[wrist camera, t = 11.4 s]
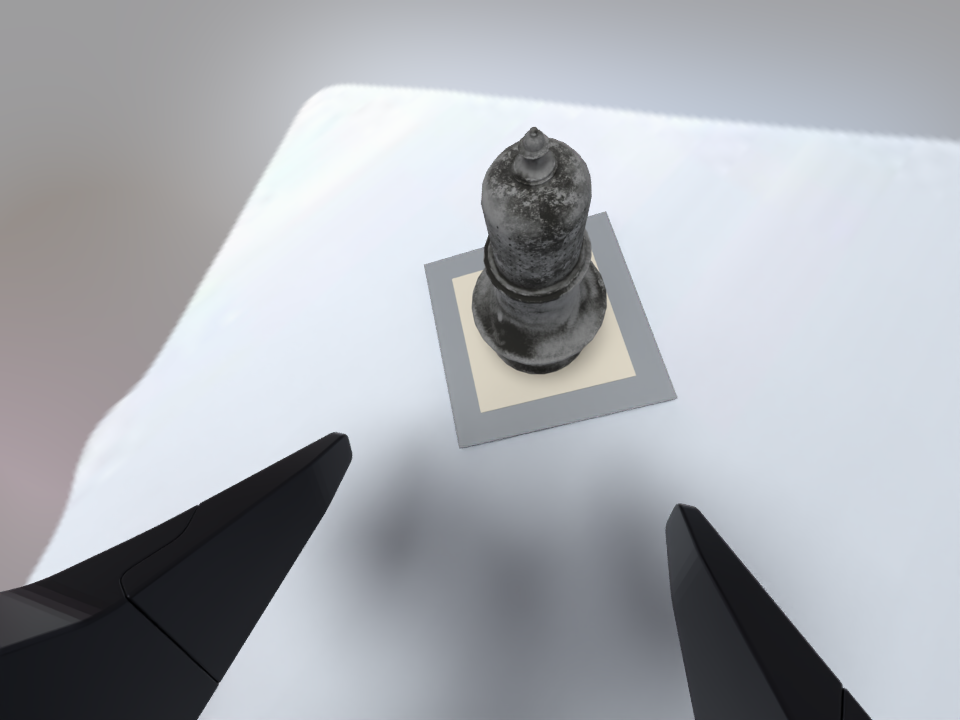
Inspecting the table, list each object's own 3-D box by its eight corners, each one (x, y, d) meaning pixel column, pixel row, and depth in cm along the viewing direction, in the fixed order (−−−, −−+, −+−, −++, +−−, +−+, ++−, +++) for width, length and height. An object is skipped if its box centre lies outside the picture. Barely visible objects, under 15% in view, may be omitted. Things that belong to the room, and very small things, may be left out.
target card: (672, 399, 17) (678, 397, 16) (461, 448, 18) (458, 448, 18) (604, 218, 20) (606, 210, 19) (427, 269, 21) (423, 264, 21)
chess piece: (585, 269, 19) (658, -10, 7) (602, 374, 17) (728, 231, 6) (480, 284, 20) (395, 56, 8) (487, 385, 18) (396, 280, 7)
